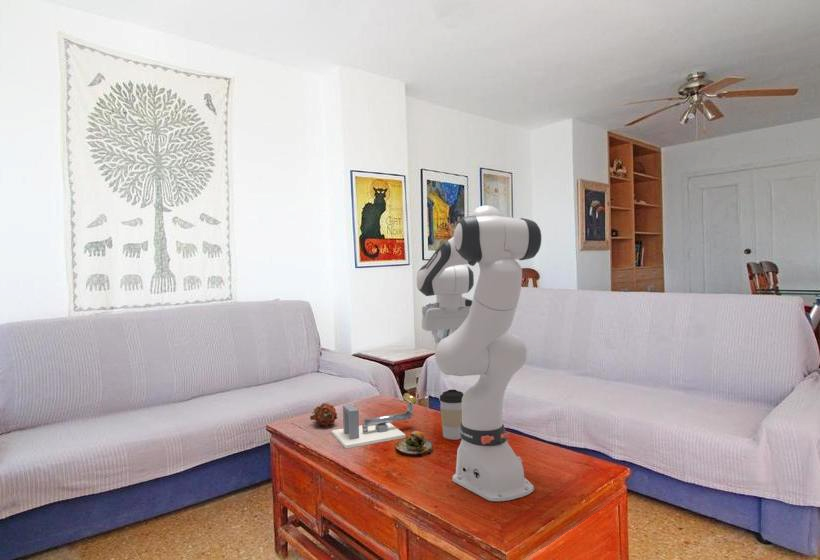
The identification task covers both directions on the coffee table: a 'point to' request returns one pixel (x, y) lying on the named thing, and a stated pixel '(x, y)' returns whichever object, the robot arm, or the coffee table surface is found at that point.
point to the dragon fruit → (324, 415)
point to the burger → (415, 444)
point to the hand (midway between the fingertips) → (449, 341)
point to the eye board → (355, 436)
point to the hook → (393, 417)
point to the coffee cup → (451, 413)
